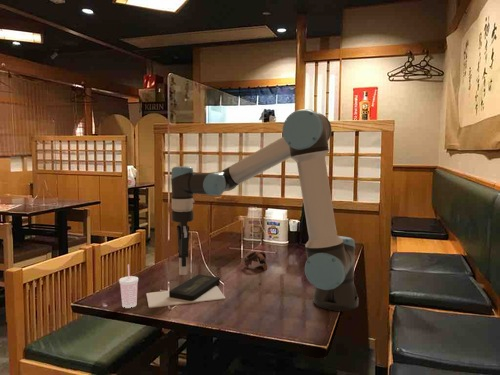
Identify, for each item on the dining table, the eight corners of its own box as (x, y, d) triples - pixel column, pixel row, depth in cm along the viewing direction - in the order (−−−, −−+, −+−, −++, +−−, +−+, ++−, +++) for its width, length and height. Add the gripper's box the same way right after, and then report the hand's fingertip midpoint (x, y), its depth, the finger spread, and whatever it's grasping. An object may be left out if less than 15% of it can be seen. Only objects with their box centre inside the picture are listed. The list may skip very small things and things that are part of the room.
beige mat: (225, 299, 138) (225, 297, 138) (148, 308, 130) (148, 307, 130) (216, 286, 150) (216, 285, 150) (146, 294, 142) (146, 293, 142)
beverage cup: (119, 309, 128) (118, 267, 127) (120, 302, 134) (119, 262, 133) (139, 307, 130) (138, 266, 129) (138, 300, 136) (137, 261, 135)
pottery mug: (263, 273, 168) (254, 257, 167) (247, 279, 173) (237, 263, 172) (275, 259, 178) (265, 244, 177) (259, 265, 183) (250, 250, 182)
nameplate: (168, 297, 138) (192, 301, 135) (167, 291, 138) (192, 296, 134) (198, 278, 158) (220, 282, 154) (198, 274, 158) (220, 277, 154)
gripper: (196, 212, 136) (197, 278, 138) (190, 206, 148) (190, 268, 151) (174, 213, 134) (175, 281, 136) (169, 207, 146) (170, 269, 148)
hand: (183, 274), depth 143 cm, fingers closed
